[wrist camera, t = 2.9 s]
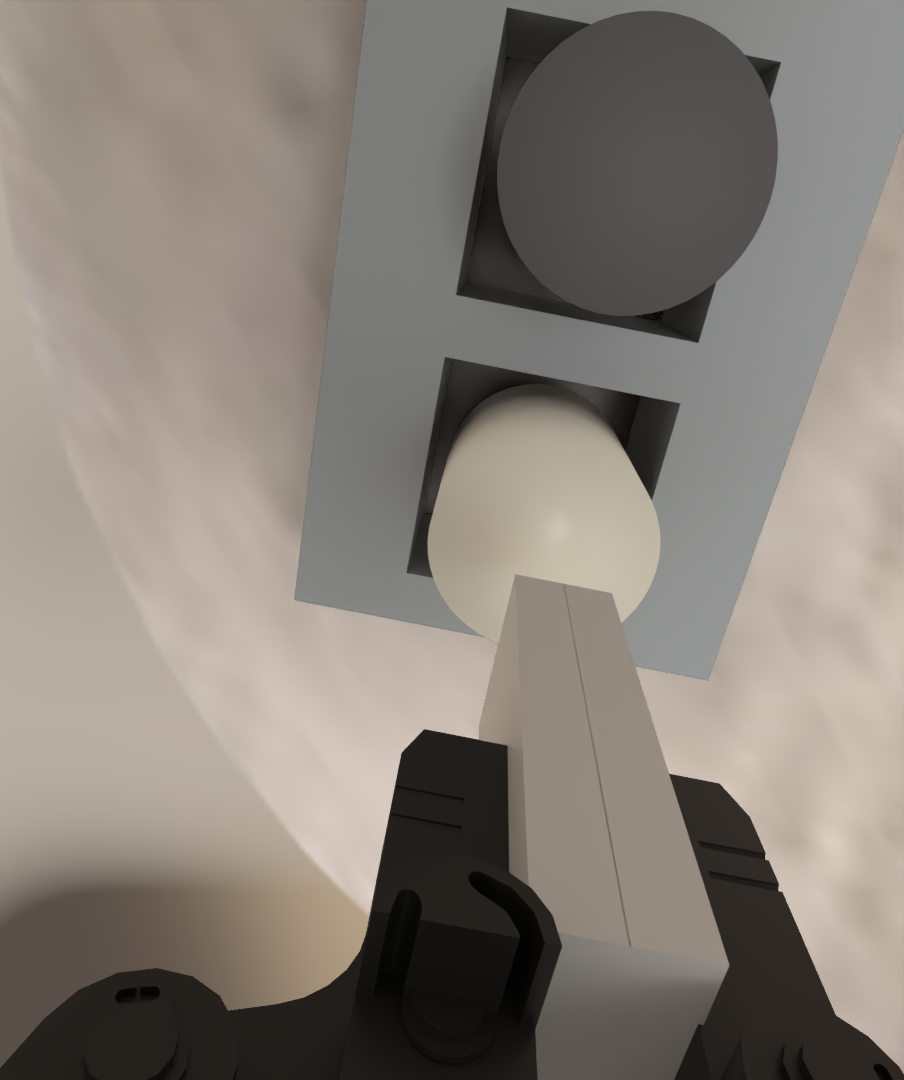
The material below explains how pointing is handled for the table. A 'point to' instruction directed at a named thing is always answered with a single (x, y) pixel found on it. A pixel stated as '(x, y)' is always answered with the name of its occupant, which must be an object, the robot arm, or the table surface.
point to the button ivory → (539, 507)
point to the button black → (637, 163)
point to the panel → (570, 331)
